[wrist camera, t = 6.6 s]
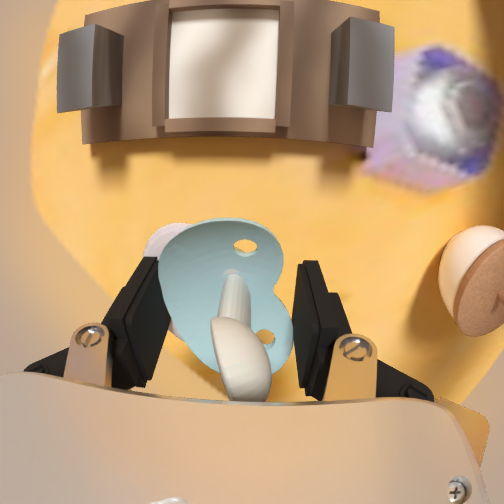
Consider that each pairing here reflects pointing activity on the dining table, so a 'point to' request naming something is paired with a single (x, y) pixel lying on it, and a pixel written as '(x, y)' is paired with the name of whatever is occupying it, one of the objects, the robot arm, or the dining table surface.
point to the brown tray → (228, 70)
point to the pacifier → (225, 299)
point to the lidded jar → (474, 279)
